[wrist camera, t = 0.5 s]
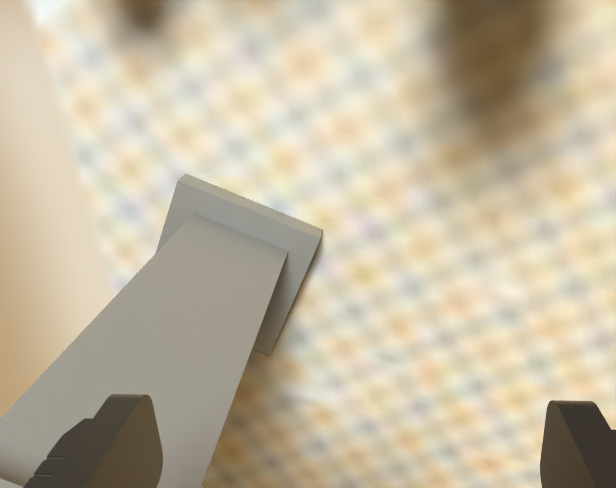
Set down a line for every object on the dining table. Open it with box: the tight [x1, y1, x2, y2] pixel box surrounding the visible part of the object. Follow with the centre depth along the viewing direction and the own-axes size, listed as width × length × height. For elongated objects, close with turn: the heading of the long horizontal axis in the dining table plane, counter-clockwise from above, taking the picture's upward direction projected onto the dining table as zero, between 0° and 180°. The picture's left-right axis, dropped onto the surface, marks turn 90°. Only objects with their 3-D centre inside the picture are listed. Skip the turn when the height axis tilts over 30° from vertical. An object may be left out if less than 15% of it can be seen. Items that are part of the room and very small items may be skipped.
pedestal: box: [0, 174, 323, 488], centre depth 32 cm, size 12×12×32 cm
